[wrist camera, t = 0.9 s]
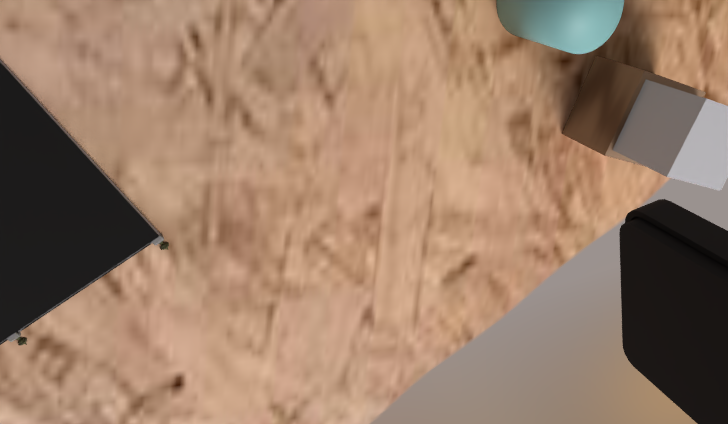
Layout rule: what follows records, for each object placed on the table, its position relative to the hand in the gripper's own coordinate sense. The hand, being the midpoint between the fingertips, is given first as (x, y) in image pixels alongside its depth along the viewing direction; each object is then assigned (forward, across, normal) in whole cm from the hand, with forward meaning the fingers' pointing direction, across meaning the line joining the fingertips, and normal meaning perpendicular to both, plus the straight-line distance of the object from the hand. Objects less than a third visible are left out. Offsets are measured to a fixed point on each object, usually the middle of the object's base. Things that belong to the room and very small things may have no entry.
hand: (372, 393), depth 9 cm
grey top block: (+25, -27, +12) cm, 39 cm away
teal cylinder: (+30, -21, +3) cm, 37 cm away
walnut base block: (+30, -27, +12) cm, 42 cm away
